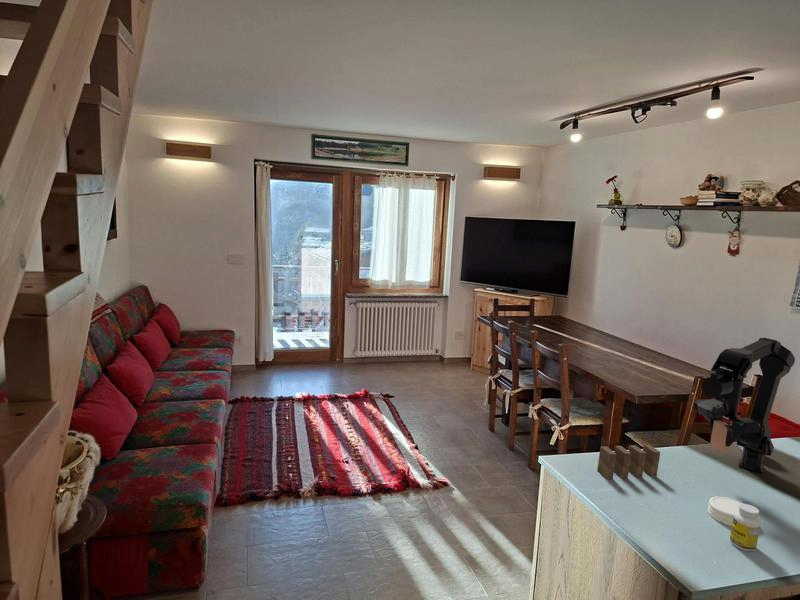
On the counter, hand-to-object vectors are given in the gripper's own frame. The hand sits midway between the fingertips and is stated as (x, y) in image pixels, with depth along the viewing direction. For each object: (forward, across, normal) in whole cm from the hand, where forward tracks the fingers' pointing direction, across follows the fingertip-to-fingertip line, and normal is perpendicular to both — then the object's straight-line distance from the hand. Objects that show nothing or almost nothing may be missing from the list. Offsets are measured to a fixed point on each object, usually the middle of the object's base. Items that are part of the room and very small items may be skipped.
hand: (720, 442), depth 153 cm
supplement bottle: (+13, +28, -18) cm, 36 cm away
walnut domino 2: (+13, -7, -27) cm, 31 cm away
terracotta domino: (+2, 0, 0) cm, 2 cm away
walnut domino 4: (+13, -7, -17) cm, 23 cm away
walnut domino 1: (+13, -7, -32) cm, 35 cm away
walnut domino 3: (+13, -7, -22) cm, 27 cm away
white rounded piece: (+13, +17, -11) cm, 25 cm away
